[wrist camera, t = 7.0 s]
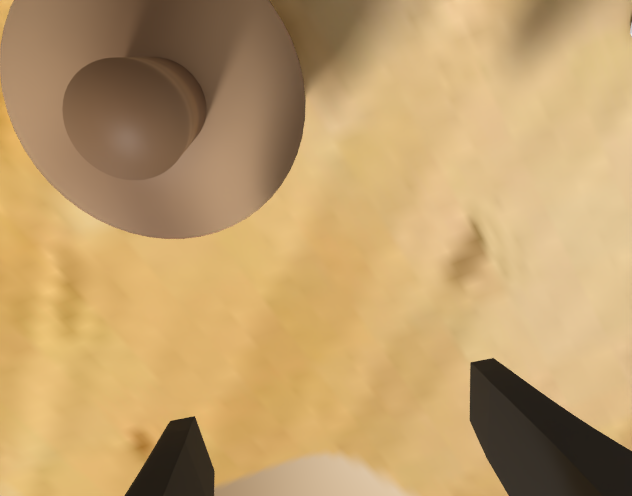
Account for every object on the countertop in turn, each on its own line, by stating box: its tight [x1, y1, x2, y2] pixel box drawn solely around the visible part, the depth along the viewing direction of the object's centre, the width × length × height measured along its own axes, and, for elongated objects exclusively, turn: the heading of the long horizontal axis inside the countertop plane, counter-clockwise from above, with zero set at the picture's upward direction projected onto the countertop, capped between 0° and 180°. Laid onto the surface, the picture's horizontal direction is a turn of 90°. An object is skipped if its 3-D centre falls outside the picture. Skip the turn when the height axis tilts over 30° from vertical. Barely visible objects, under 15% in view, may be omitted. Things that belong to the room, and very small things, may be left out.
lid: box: [0, 0, 305, 239], centre depth 11 cm, size 8×8×4 cm
